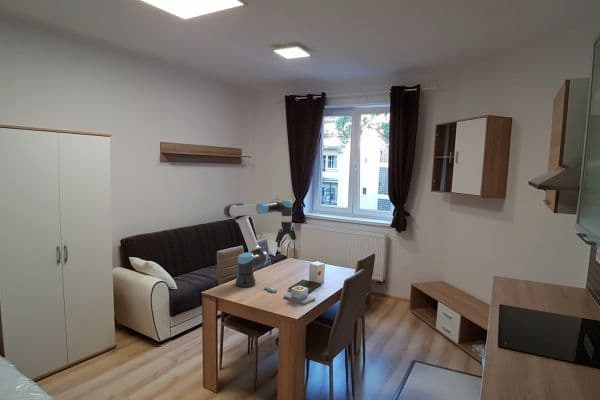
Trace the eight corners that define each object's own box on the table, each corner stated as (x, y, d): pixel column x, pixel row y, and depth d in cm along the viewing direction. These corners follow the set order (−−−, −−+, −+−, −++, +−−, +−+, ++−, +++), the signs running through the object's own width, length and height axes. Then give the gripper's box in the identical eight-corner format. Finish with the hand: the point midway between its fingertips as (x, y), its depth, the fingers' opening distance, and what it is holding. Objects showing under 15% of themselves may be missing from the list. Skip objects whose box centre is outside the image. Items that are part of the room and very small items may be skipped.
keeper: (283, 297, 234) (284, 287, 233) (295, 293, 243) (295, 282, 242) (303, 305, 222) (304, 294, 222) (315, 300, 232) (315, 289, 231)
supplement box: (316, 284, 263) (317, 265, 261) (308, 281, 269) (309, 262, 268) (324, 282, 269) (325, 263, 267) (316, 279, 275) (317, 261, 274)
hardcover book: (287, 291, 248) (287, 288, 248) (302, 282, 269) (302, 279, 268) (307, 295, 241) (307, 292, 241) (321, 286, 261) (321, 283, 261)
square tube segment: (291, 296, 232) (291, 288, 232) (298, 293, 238) (299, 285, 238) (300, 300, 227) (300, 291, 226) (307, 296, 233) (308, 288, 232)
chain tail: (262, 289, 249) (262, 288, 249) (266, 288, 252) (266, 286, 252) (274, 293, 241) (274, 292, 241) (278, 292, 244) (278, 290, 244)
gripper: (278, 223, 237) (277, 253, 239) (301, 220, 256) (300, 247, 258) (270, 222, 242) (270, 251, 244) (294, 219, 261) (293, 246, 263)
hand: (285, 249), depth 251 cm, fingers open, 13 cm apart
